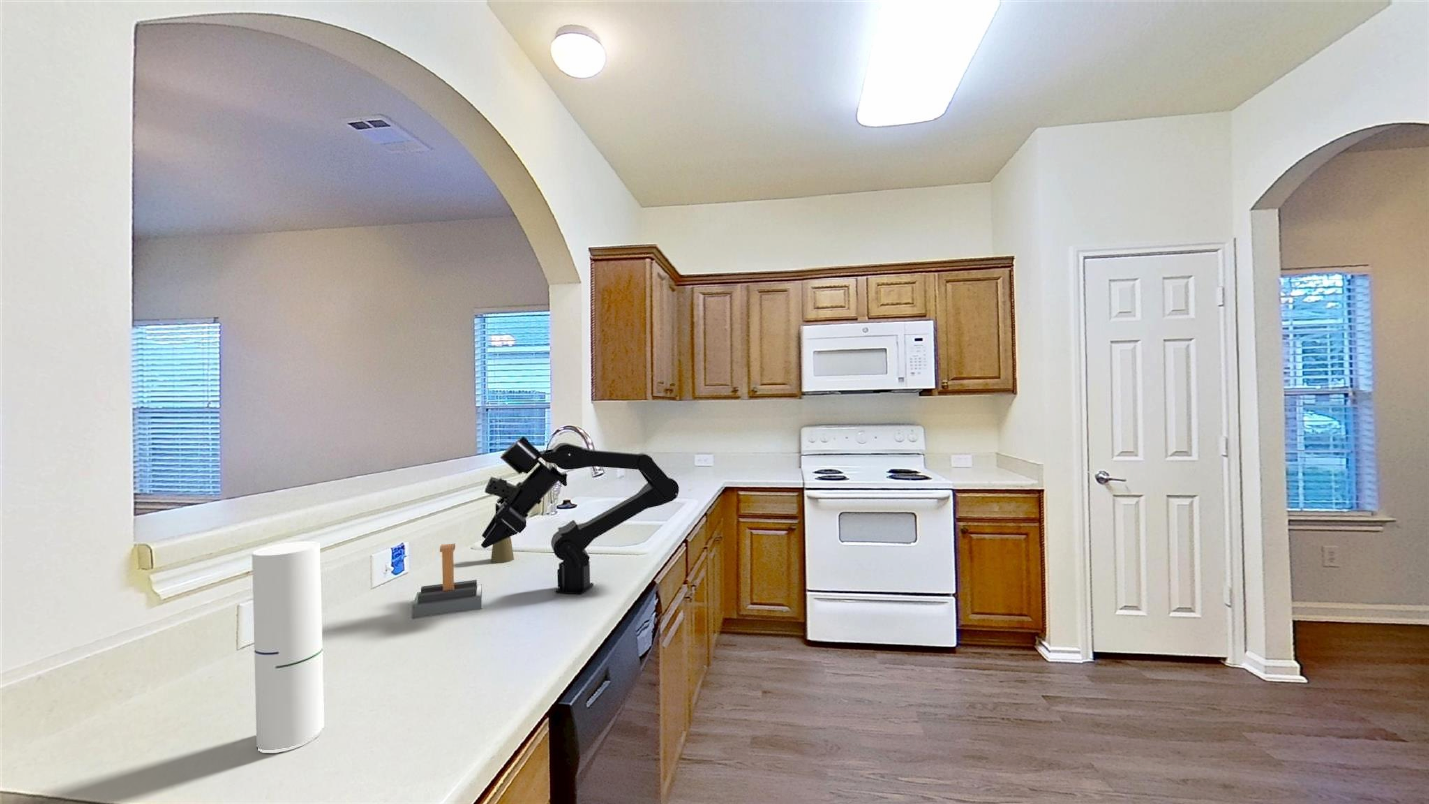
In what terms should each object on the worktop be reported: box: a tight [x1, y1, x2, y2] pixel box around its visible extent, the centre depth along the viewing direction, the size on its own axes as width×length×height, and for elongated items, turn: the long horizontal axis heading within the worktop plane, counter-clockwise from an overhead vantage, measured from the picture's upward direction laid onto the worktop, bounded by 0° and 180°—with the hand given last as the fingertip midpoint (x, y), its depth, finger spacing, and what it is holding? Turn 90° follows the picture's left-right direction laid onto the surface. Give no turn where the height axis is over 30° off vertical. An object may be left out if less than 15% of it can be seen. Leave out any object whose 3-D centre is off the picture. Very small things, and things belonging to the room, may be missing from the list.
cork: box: [490, 536, 515, 564], centre depth 158 cm, size 6×6×11 cm
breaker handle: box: [439, 543, 456, 591], centre depth 123 cm, size 3×3×10 cm
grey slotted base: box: [411, 579, 483, 619], centre depth 123 cm, size 13×9×4 cm
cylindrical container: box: [251, 540, 325, 750], centre depth 75 cm, size 7×7×25 cm
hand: (483, 541), depth 125 cm, fingers open, 9 cm apart
